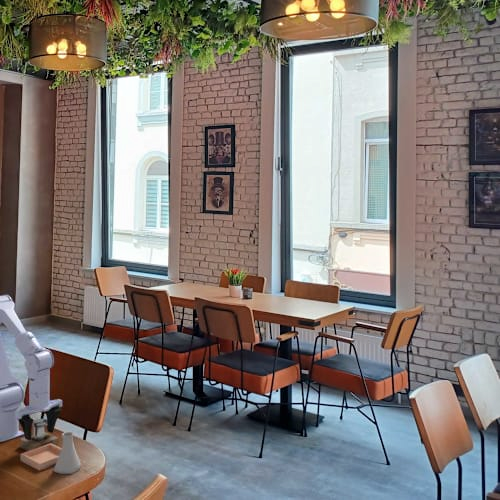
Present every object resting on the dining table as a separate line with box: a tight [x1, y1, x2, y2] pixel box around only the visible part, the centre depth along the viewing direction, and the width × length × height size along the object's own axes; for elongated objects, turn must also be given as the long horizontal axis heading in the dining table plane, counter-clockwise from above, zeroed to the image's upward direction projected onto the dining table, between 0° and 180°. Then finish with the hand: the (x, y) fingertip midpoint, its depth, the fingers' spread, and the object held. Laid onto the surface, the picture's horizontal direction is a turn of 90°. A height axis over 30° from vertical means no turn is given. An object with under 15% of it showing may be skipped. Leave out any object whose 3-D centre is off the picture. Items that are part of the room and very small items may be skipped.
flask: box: [53, 431, 82, 475], centre depth 157 cm, size 7×7×10 cm
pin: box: [32, 418, 47, 442], centre depth 171 cm, size 4×4×8 cm
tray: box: [20, 443, 62, 472], centre depth 162 cm, size 10×10×2 cm
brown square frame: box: [19, 431, 60, 452], centre depth 171 cm, size 8×8×2 cm
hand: (39, 435), depth 171 cm, fingers open, 7 cm apart
